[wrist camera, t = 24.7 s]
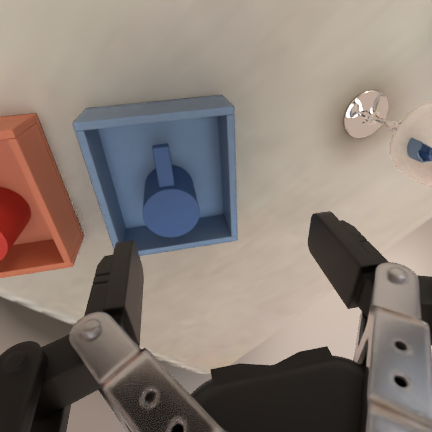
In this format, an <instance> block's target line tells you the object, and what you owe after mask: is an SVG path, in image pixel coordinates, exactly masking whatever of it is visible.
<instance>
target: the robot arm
mask: <svg viewBox="0 0 432 432" xmlns="http://www.w3.org/2000/svg"><path fill="white" fill-rule="evenodd" d="M308 247H309V250H310V253H311V254H312V256H313V257H314V259H315V260H316V262H317V263H318V265H319V266H320V268H321V269H322V271H323V272H324V274H325V275H326V277H327V278H328V280H329V281H330V283H331V284H332V286H333V287H334V289H335V290H336V291H337V293H338V294H339V296H340V297H341V299H342V300H343V302H344V303H345V305H346V306H347V308H348V309H350V308H355V307H359V308H360V309H361V311H362V312H361V315H360V320H359V327H358V335H357V342H356V349H355V355H354V360H353V361H352V360H350V359H346V358H343V357H338V356H332V355H331V353H330V351H329V349H328V347H322V348H317V349H312V350H306V351H301V352H299V353H296V354H295V355H292V356H291V357H289V358H287V359H285V360H283V361H281V362H279V363H277V364H275V365H271V366H270V365H254V364H236V365H231V366H226V367H221V368H216V369H211V374H212V379H211V380H209V381H207V382H205V383H204V384H202V385H201V386H199V387H198V388H197V389H196V390H195V391H194V392H193V393H192V394H191V395H190V394H189V393H188V392H187V391H186V390H185V389H184V388H183V387H182V385H180V384H179V382H178V381H177V380H176V379H175V378H174V377H173V376H172V375H171V374H170V373H169V372H168V371H167V369H166V368H165V367H164V366H163V365H162V364H161V363H160V362H159V361H158V360H157V359H156V358H155V357H154V356H153V355H152V353H151V352H149V351H148V350H147V349H145V348H144V349H141V348H140V347H139V345H140V329H141V313H142V297H143V281H144V277H143V268H142V264H141V261H140V257H139V253H138V250H137V246H136V243H135V241H134V240H130V241H123V242H116V244H115V249H114V254H113V255H109V256H105V257H104V258H103V259H102V260H101V262H100V263H99V264H98V266H97V269H96V273H95V277H94V281H93V285H92V289H91V293H90V296H89V300H88V304H87V308H86V312H85V315H84V317H82V318H81V319H80V320H78V321H77V322H76V323H75V325H74V326H73V328H72V329H71V331H70V334H68V335H67V336H65V337H63V338H61V339H59V340H57V341H55V342H52V343H50V344H48V345H46V346H43V347H40V345H39V344H38V343H36V342H33V341H27V342H22V343H19V344H16V345H14V346H12V347H11V348H9V349H8V350H6V351H5V352H4V353H3V354H1V355H0V432H66V429H67V424H68V418H69V413H70V407H71V404H72V403H73V402H76V401H78V400H79V399H81V398H83V397H85V396H87V395H89V394H91V393H92V392H94V391H96V390H99V392H100V393H101V394H102V396H103V398H104V399H105V400H106V402H107V403H108V405H109V406H110V407H111V409H112V411H113V412H114V413H115V415H116V417H117V418H118V419H119V421H120V422H121V424H122V425H123V427H124V428H125V430H126V431H127V432H432V352H431V345H432V277H428V276H417V275H416V274H415V273H414V272H413V271H412V270H411V269H409V268H407V267H405V266H403V265H400V264H397V263H391V262H388V261H387V260H386V259H385V258H384V257H383V256H382V255H381V254H380V253H379V252H378V251H377V250H376V249H375V248H374V247H373V246H372V245H371V244H370V243H369V241H367V239H366V238H365V237H364V236H363V235H361V233H360V232H359V231H358V230H357V229H356V228H355V227H354V226H352V225H350V224H349V223H347V222H345V221H343V220H342V221H339V220H338V218H337V217H336V216H335V215H334V214H333V213H332V212H330V211H329V212H322V213H315V214H313V215H312V217H311V223H310V230H309V237H308Z"/></svg>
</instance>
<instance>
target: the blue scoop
mask: <svg viewBox="0 0 432 432" xmlns="http://www.w3.org/2000/svg"><path fill="white" fill-rule="evenodd" d="M152 151H153V156H154V161H155V167H156V169H154V170H153V171H152V172H151V173H150V174H149V175H148V176H147V178H146V181H145V188H144V200H143V220H144V222H145V224H146V226H147V227H148V228H149V229H150V230H151V231H152V232H154V233H155V234H157V235H160V236H163V237H178V236H181V235H184V234H186V233H188V232H189V231H190V230H192V229H193V228H194V226H195V225H196V224H197V222H198V220H199V216H200V209H199V205H198V200H197V196H196V192H195V188H194V184H193V180H192V178H191V176H190V175H189V173H188V172H187V171H185V170H184V169H183V168H181V167H178V166H175V165H172V163H171V157H170V150H169V144H167V143H166V144H158V145H153V146H152Z"/></svg>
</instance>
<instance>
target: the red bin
mask: <svg viewBox="0 0 432 432" xmlns="http://www.w3.org/2000/svg"><path fill="white" fill-rule="evenodd" d="M0 187H3V188H7V189H9V190H12V191H14V192H16V193H17V194H19V195H20V196H21V197H23V198H24V200H25V201H26V202H27V203H28V205H29V207H30V211H31V218H30V220H29V222H28V224H27V225H26V227H25V228H24V230H23V231H22V233H21V234H20V235H19V237H18V238H17V240H16V241H15V243H14V244H13V246H12V247H11V249H10V250H9V252H8V253H7V254H6V256H5V257H4V258H3V259H2V260H1V261H0V278H3V277H10V276H16V275H22V274H29V273H35V272H41V271H48V270H54V269H60V268H67V267H73V265H74V263H75V260H76V257H77V254H78V252H79V249H80V246H81V243H82V240H83V238H84V235H83V233H82V230H81V228H80V225H79V222H78V220H77V217H76V215H75V212H74V210H73V207H72V204H71V202H70V199H69V197H68V194H67V192H66V189H65V186H64V184H63V181H62V179H61V176H60V174H59V171H58V168H57V166H56V163H55V161H54V158H53V156H52V153H51V151H50V148H49V145H48V143H47V140H46V138H45V135H44V133H43V130H42V127H41V125H40V122H39V120H38V117H37V115H36V114H25V115H15V116H5V117H0Z"/></svg>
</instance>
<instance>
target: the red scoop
mask: <svg viewBox="0 0 432 432" xmlns="http://www.w3.org/2000/svg"><path fill="white" fill-rule="evenodd" d="M30 218H31V211H30V207H29V205H28V203H27V202H26V201H25V200H24V198H23V197H21V196H20V195H19V194H17V193H16V192H14V191H12V190H9V189H7V188H3V187H0V261H1V260H2V259H3V258H4V257H5V256H6V254H7V253H8V252H9V250H10V249H11V247H12V246H13V244H14V243H15V241H16V240H17V238H18V237H19V235H20V234H21V233H22V231H23V230H24V228H25V227H26V225H27V224H28V222H29V220H30Z"/></svg>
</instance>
